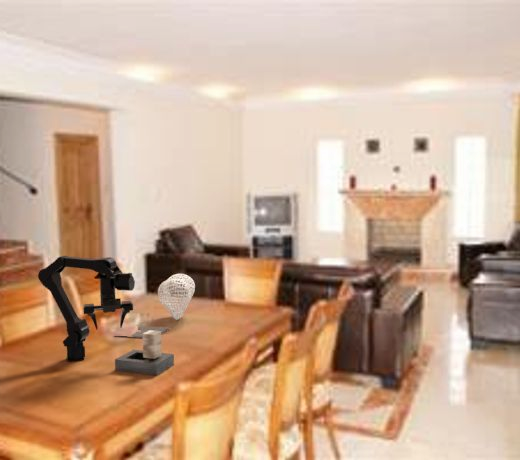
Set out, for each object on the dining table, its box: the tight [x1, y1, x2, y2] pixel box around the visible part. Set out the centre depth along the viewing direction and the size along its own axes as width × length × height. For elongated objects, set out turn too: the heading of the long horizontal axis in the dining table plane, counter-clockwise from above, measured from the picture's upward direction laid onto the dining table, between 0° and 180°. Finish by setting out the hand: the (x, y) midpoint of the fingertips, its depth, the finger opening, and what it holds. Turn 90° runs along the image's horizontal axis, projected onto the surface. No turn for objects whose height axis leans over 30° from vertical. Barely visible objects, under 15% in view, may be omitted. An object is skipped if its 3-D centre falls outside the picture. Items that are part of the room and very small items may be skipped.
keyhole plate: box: [114, 349, 175, 376], centre depth 225 cm, size 18×13×4 cm
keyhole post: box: [142, 330, 163, 360], centre depth 223 cm, size 6×6×13 cm
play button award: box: [132, 325, 170, 339], centre depth 274 cm, size 16×2×20 cm
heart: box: [157, 273, 196, 321], centre depth 297 cm, size 28×16×22 cm, turn 175°
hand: (109, 328), depth 232 cm, fingers open, 9 cm apart
